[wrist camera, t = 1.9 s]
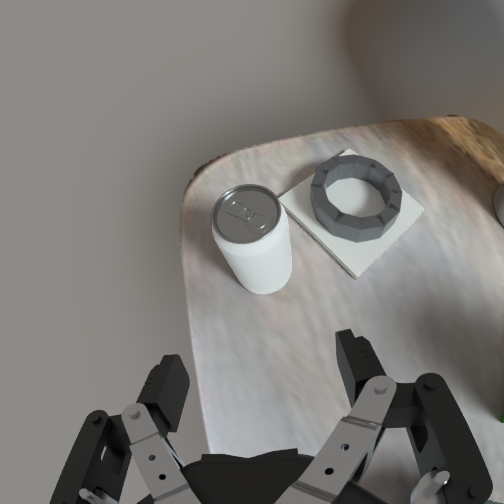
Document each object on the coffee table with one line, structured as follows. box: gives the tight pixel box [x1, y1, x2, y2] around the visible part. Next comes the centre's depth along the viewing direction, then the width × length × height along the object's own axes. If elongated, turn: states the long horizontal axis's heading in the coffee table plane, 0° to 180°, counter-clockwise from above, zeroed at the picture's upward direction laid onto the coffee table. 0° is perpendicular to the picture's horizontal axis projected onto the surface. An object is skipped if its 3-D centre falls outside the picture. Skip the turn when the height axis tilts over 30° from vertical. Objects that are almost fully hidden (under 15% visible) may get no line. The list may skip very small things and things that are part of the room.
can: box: [211, 184, 292, 294], centre depth 27 cm, size 6×6×12 cm
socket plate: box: [278, 149, 424, 280], centre depth 34 cm, size 14×14×1 cm
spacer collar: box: [310, 154, 402, 243], centre depth 32 cm, size 11×11×3 cm
